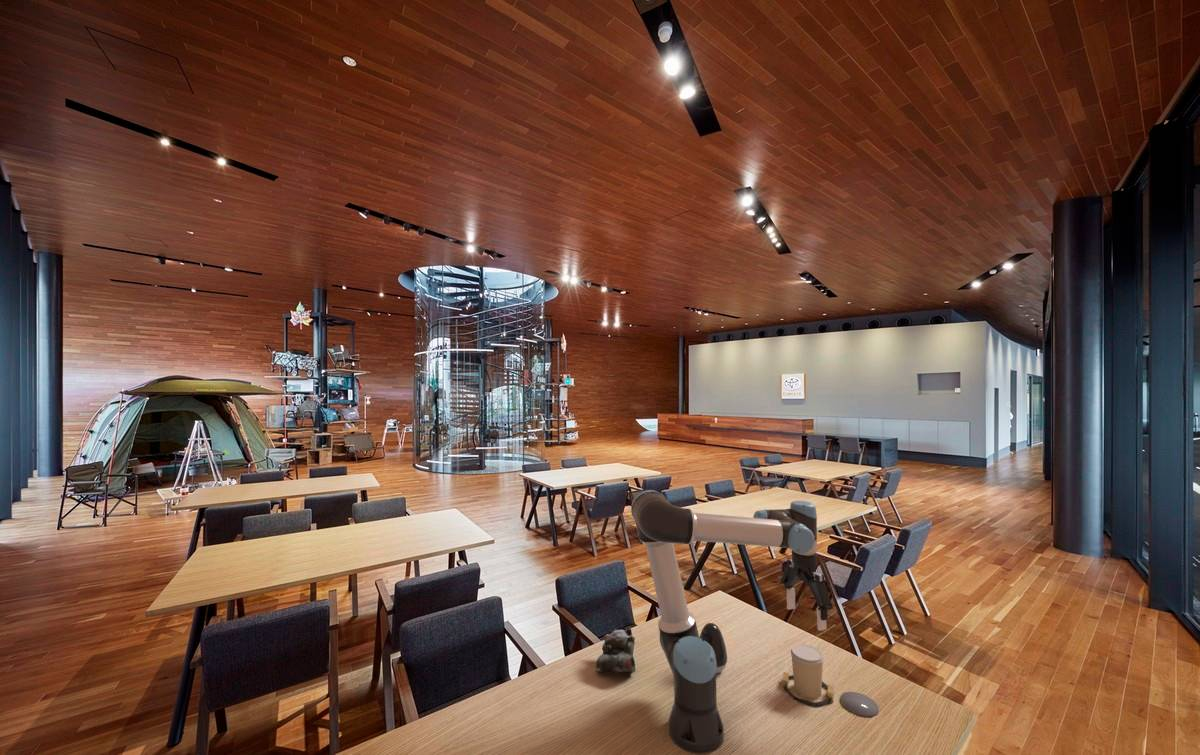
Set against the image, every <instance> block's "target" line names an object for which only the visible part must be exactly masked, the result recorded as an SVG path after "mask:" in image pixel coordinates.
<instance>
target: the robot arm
mask: <svg viewBox="0 0 1200 755" xmlns="http://www.w3.org/2000/svg"><path fill="white" fill-rule="evenodd" d="M816 507H817V506H816V505H815V504H814V503H813V502H810V501H807V500H806V501H805V500H795V501H791V503H790V507H789V508H783V509H782V508H781V509H778V508H777V509H767V508H765V509H759V510H756V511H754V513H753V516H752V517H746V516H739V515H738V516H736V515H723V514H714V513H713V514H711V513H701V512H698V513H697V512H693V510H692V509H691V508H685V507H679V506H676V505H673V504H672V503H671V502H669V500H668V499H667V498H666V497H665V495H664V494H662V493H660V492H659V491H656V490H653V489H647V490H642V491H641V492H639V493H638V494H636V496H635V497H634V498H633V500H632V502H631V507H630V510H631V511H630V513H631V516H632V518H633V519H634V522H635V526H636V527H635V528H636V531H637V535H638V540H639V541H640V543H642V544H644V545H645V549H646V553H647V559H648V563H649V567H650V573H651V576H652V581H653V586H654V590H655V595H656V599H657V603H658V607H659V612H660V619H658V621H657V622H658V623H657V626H658V630H659V643H660V647H661V649H662V651H663V652H664V655H665V657H666V660H667V663H668V666H669V667H670V670H671V673H672V676H673V683H674V684H673V690H674V691H673V695H674V698H673V699H674V700H673V704H672V708H671V711H670V714H669V717H668V734H669V736H670V738H671V739H672V741H673V742H674V743H675V744H676V745H677V746H678V747H679V748H681V749H683V750H685V751H687V752H691V753H694V754H695V753H696V754H707V753H711V752H715V751H716V750H717V749H719V748H720V747H721V746H722V744H723V742H724V738H725V734H724V730H725V729H724V723H723V721H722V718H721V715H720V711H719V709H718V704H717V696H718V695H717V673H716V667H717V664H716V658H715V652H714V650H713V648H712V647H711V645H710V644H709V643H707V642H706V641H702V639H701V638H699V637H700V634H699V631H698V626H697V621H696V618H695V616H694V614H693V613H691V612H689V608H688V604H687V599H686V595H685V590H684V586H683V582H682V576H681V573H680V572H681V571H680V567H679V563H678V559H677V558H678V557H677V554H676V550H675V546H674V544H683V545H690V544H691V543H692V542H693V541H695V542H708V543H716V544H717V543H719V544H721V543H722V544H731V545H732V544H733V545H744V546H757V547H759V546H760V547H771V548H785V549H790V550H791V559H787V560H786V567H785V569H784V571H783V574H782V577H781V580H780V584H782V585H784V588H785V597H786V610H788V611H789V610H795V609H796V588H795V585H796V584H797V583H798V581H799V580H800V581H802V582H803V583H805V584H806V585H807V587H809V589H810V591H811V593H812V596H813V598H814V600H815V602H816V603H817V605H818V607H817V608H816V614H817V615H816V620H817V621H816V623H817V624H816V627H817V630H818V631H819V632H820V631H824V630H827V627H828V626H827V620H828V611H829V610H833V609H834V606H833V603H832V600H831V597H830V594H829V591H828V588H827V585H826V580H825V575H824V573H823V572H822V573H818V572H817V570H816V568H817V566H818V563H819V562H818V561H819V560H818V553H817V552H818V530H817V529H818V522H817V521H818V520H817V519H818V516H817V515H818V514H817V508H816Z"/></svg>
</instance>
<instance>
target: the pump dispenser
mask: <svg viewBox="0 0 1200 755" xmlns="http://www.w3.org/2000/svg"><path fill="white" fill-rule="evenodd" d="M699 638H701V639H702V641H706V642H707V643H709V644H710V645H711V647H712V648H713V650H714V652H715V658H716V664H717V667H716V674H719V673H721V672H722V671H723V670H724V669H725V667H726V666H727V663H728V652H727V648H726V643H725V639H724V636H723V633H722V631H721V630H720V628H719V626H718V625H717V624H715V623H714V622H707V623H706V624H705V625H704V626H703V627H702V628H701V631H700V634H699Z"/></svg>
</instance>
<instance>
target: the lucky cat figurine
mask: <svg viewBox="0 0 1200 755" xmlns="http://www.w3.org/2000/svg"><path fill="white" fill-rule="evenodd" d="M632 632H633V631H632V629H631V628H627V629H626V630H624V629H617V628H613V630H612V631H611V633H606V635H604V636H603V640H604V642H603V643H602V645H601V646H602V647H601V650H602V654H600V655H599V656H598V657H597V659H596V662H595V666H596V669H595V670H594V671H595V672H597V673H598V672H602V673H604V672H605V673H606V672H607V673H624V672H625V673H635V672H636V663H635V658H634V649H635V642H636V641H635V640H636V639H635V638H636V637H635V636H634V635H633V633H632Z"/></svg>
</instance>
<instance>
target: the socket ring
mask: <svg viewBox="0 0 1200 755" xmlns="http://www.w3.org/2000/svg"><path fill="white" fill-rule="evenodd" d="M791 680H794V677H793V674H792V675H790V673H789V672H785V671H783V673H782V678H781V688H782V689H783V691H785V693H786V694H788V696H789V697H790V698H792V699H793V701H796V702H797V703H799V704H800V703H801V704H804V705H807V706H811V707H814V708H818V707H823V706H826V705H831V704H832V703H834V701H835V700H834V699H835V697H834V696H835V686H834V685H833V684H830V683H828V684H827V683H825V682H824V681H823V680H822V687H823V688H825V689H826V691H827V692H826V693H827V699H825V700H821V701H817V702H813V701H811V700H807V699H803V698H800V697H797V696H796V694H794V693H793V691H791V690H790V689H789V684H790V683H789V682H790V681H791Z"/></svg>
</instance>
